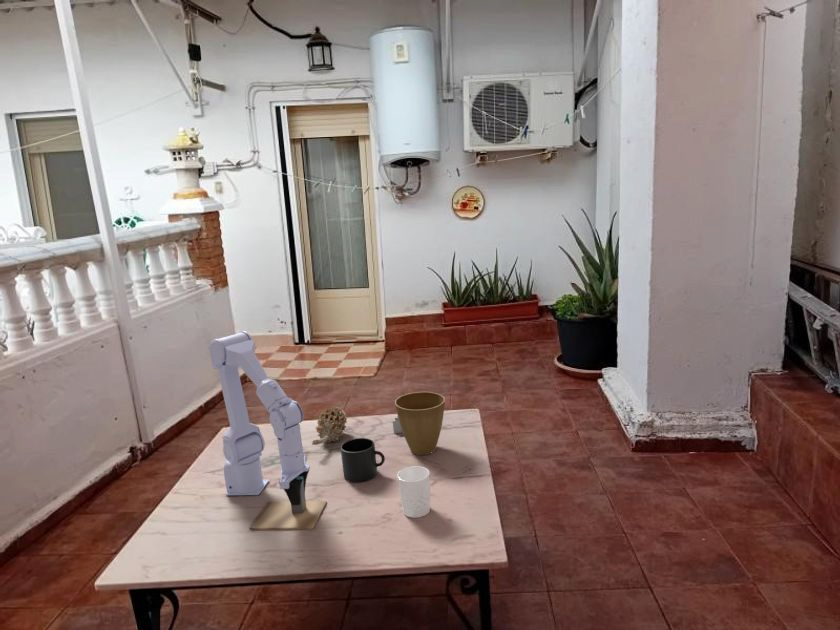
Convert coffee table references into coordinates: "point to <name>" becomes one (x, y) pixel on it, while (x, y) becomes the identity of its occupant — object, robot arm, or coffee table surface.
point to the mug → (360, 459)
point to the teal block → (301, 506)
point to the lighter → (397, 426)
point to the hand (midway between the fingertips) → (297, 500)
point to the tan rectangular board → (287, 516)
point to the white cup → (414, 491)
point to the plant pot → (421, 420)
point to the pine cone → (330, 425)
